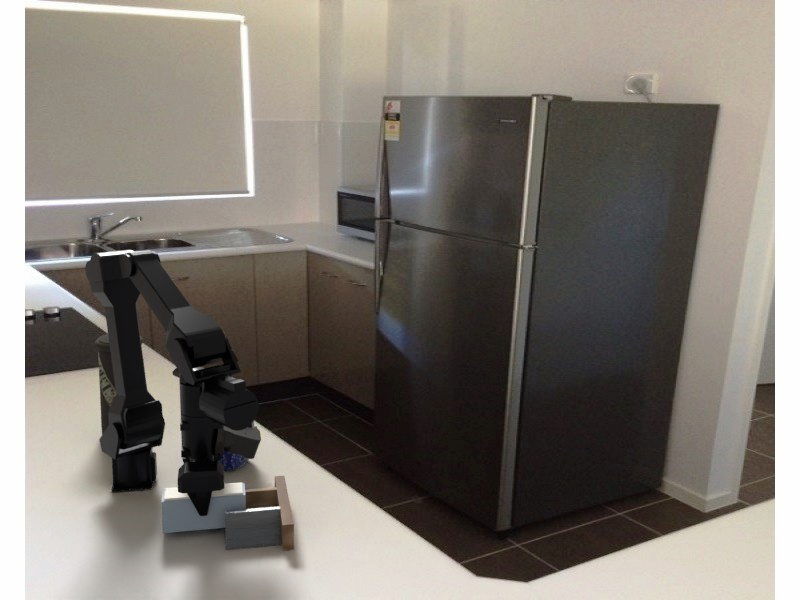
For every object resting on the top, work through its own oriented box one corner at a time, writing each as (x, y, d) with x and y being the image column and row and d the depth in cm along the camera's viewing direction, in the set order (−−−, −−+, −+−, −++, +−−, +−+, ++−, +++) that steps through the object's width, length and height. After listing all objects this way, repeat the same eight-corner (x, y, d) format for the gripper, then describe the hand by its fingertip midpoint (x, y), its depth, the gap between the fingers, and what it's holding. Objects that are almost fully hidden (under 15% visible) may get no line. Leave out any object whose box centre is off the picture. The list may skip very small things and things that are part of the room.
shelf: (225, 556, 108) (225, 530, 107) (224, 502, 123) (224, 480, 122) (293, 549, 110) (293, 524, 109) (284, 497, 125) (284, 475, 124)
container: (90, 436, 148) (84, 337, 143) (123, 421, 156) (118, 326, 151) (126, 444, 144) (120, 343, 140) (157, 428, 153) (153, 332, 148)
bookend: (225, 550, 109) (225, 521, 108) (225, 538, 112) (224, 510, 111) (281, 544, 111) (281, 516, 110) (280, 533, 114) (279, 506, 113)
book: (162, 533, 111) (161, 499, 110) (164, 519, 115) (163, 487, 114) (246, 525, 114) (245, 493, 113) (245, 512, 118) (244, 481, 117)
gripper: (260, 431, 104) (261, 535, 107) (254, 386, 121) (255, 476, 125) (175, 436, 101) (179, 542, 105) (181, 390, 119) (185, 482, 122)
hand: (203, 508), depth 114 cm, fingers closed on book, 4 cm apart
